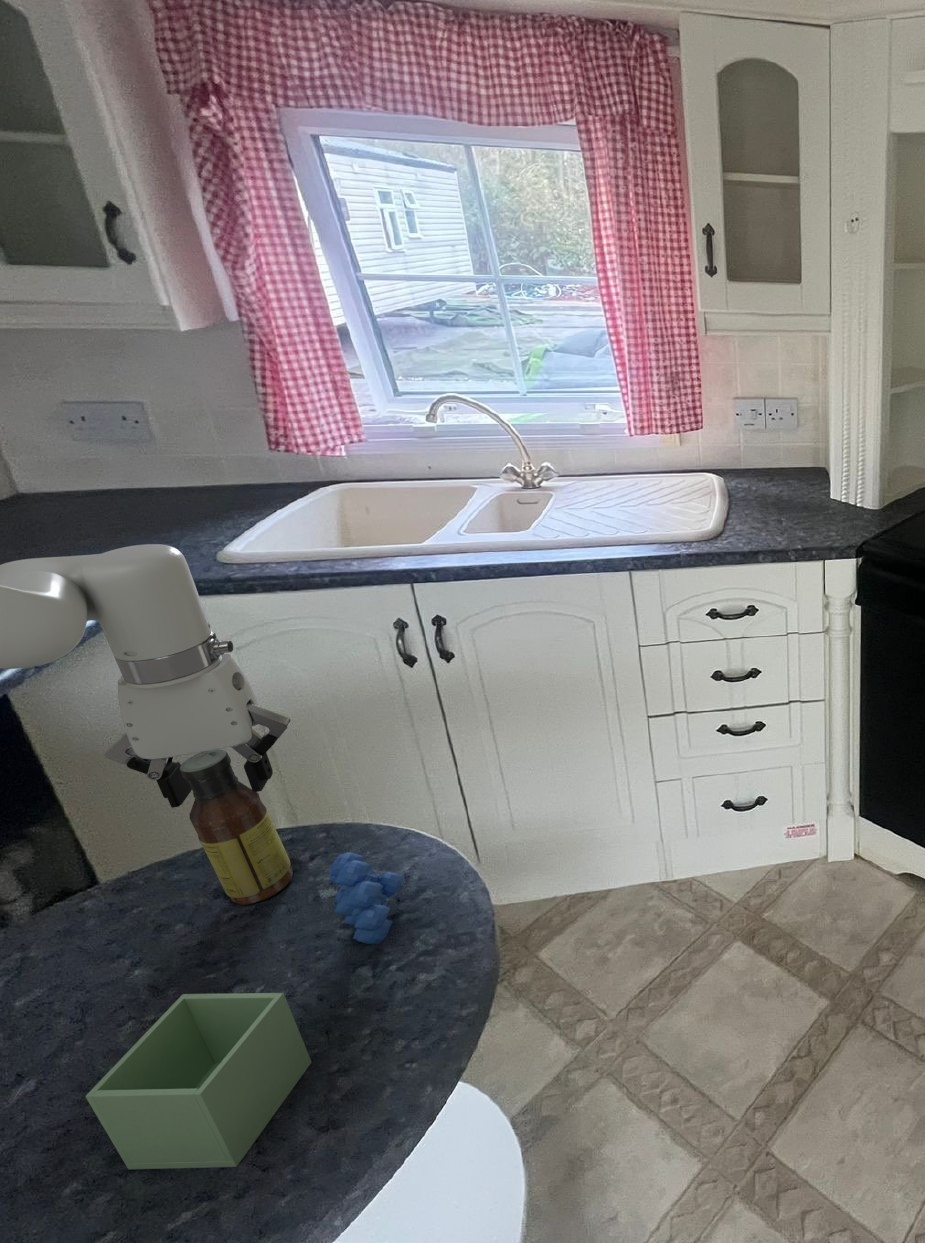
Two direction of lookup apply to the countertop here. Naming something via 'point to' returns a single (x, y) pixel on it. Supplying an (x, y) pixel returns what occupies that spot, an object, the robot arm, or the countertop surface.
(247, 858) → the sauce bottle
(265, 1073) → the bin
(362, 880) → the grapes
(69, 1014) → the countertop surface
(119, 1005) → the countertop surface
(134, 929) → the countertop surface
